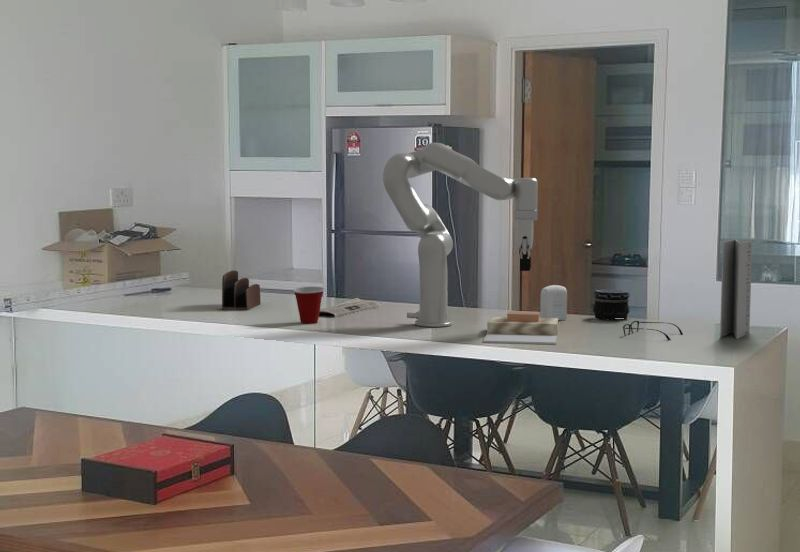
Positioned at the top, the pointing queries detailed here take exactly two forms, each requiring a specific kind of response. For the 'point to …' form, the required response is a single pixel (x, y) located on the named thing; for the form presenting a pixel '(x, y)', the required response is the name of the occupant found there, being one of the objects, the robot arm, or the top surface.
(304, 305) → the plastic cup
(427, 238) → the robot arm
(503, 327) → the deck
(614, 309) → the container
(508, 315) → the tile
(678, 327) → the eyeglasses
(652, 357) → the top surface
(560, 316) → the photo printer
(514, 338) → the mat
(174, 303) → the top surface
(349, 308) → the newspaper
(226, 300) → the letter holder
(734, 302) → the brochure
